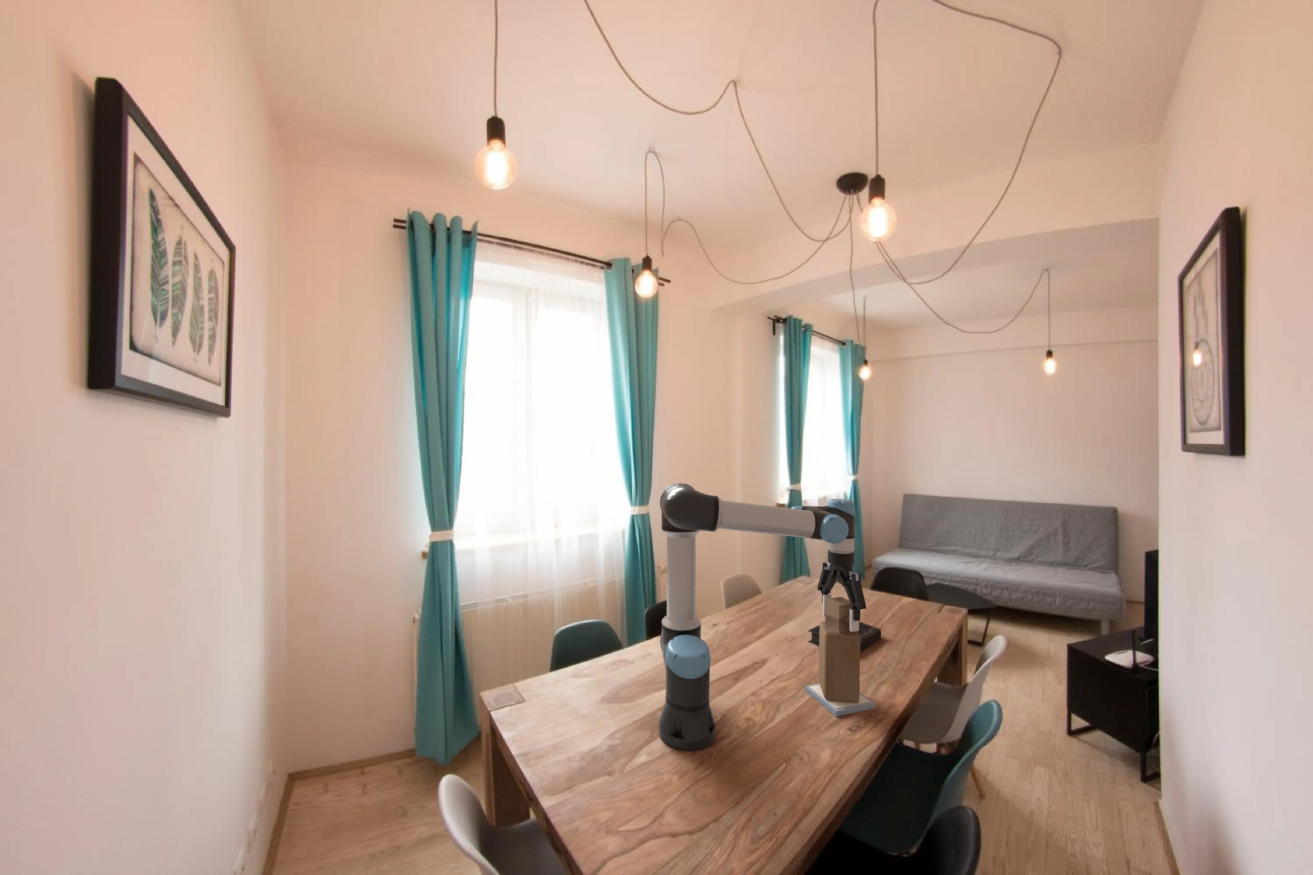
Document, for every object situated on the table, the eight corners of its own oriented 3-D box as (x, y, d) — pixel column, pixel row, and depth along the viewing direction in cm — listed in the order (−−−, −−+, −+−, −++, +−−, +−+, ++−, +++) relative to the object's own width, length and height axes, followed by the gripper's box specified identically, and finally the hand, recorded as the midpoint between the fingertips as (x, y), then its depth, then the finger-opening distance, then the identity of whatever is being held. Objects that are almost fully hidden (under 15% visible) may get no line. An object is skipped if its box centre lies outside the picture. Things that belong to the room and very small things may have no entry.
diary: (881, 640, 183) (882, 628, 183) (853, 660, 166) (853, 646, 166) (836, 625, 197) (837, 613, 197) (805, 642, 180) (806, 629, 180)
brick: (838, 632, 136) (839, 605, 136) (825, 624, 142) (825, 598, 142) (855, 630, 138) (855, 603, 138) (841, 622, 144) (841, 596, 144)
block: (860, 704, 134) (861, 635, 134) (824, 700, 136) (825, 632, 136) (851, 686, 144) (852, 622, 144) (818, 683, 146) (819, 619, 146)
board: (835, 716, 131) (835, 710, 131) (805, 690, 144) (805, 685, 144) (875, 708, 135) (875, 702, 135) (841, 683, 149) (841, 678, 149)
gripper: (881, 559, 130) (880, 637, 130) (825, 541, 152) (824, 607, 152) (859, 561, 127) (858, 640, 127) (806, 542, 150) (805, 610, 150)
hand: (840, 622), depth 140 cm, fingers open, 11 cm apart
